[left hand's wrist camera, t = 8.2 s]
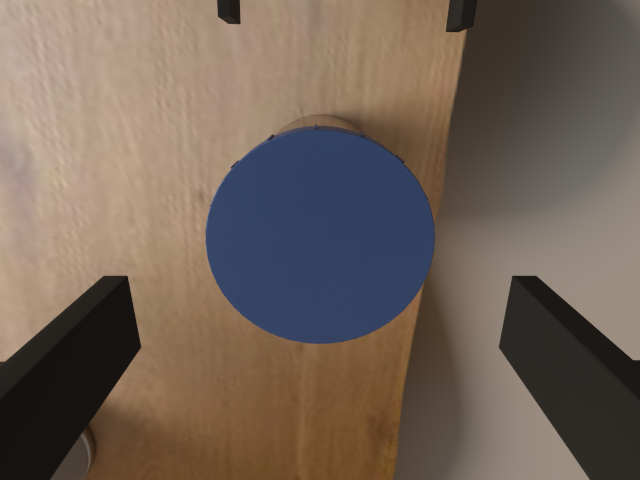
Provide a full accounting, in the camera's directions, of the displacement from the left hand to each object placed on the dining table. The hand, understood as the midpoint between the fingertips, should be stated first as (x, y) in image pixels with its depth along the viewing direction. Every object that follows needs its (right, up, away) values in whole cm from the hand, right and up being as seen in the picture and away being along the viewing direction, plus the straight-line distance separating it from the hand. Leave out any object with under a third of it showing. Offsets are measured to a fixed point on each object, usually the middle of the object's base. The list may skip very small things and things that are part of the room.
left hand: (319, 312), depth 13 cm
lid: (0, +2, +6) cm, 6 cm away
